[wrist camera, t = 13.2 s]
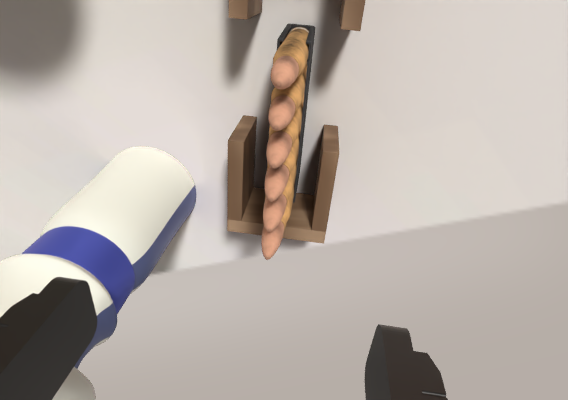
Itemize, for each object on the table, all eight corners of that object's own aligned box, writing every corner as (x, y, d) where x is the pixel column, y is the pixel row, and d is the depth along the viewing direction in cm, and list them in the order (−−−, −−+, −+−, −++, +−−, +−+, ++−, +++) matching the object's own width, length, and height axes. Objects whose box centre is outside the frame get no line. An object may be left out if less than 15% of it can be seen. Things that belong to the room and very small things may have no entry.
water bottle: (196, 240, 35) (-20, 670, 13) (105, 215, 34) (-271, 615, 13) (210, 162, 30) (-77, 607, 9) (105, 132, 30) (-455, 523, 9)
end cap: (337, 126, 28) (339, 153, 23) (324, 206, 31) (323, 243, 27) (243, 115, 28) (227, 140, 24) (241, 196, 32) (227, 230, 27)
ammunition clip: (299, 173, 30) (283, 275, 20) (276, 170, 30) (248, 270, 20) (315, 26, 25) (304, 61, 14) (287, 23, 25) (256, 56, 14)
